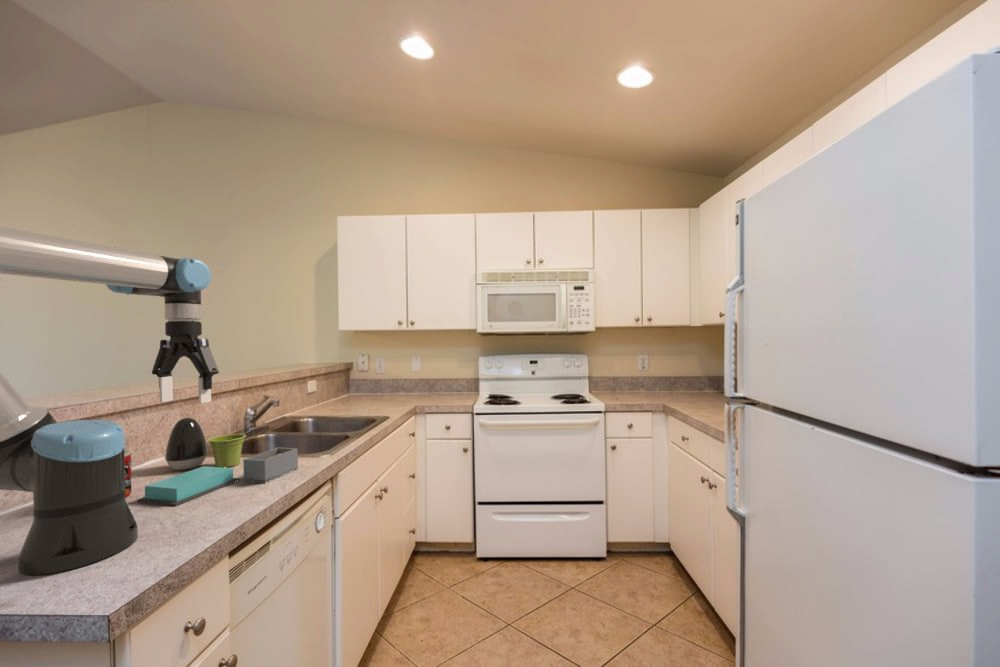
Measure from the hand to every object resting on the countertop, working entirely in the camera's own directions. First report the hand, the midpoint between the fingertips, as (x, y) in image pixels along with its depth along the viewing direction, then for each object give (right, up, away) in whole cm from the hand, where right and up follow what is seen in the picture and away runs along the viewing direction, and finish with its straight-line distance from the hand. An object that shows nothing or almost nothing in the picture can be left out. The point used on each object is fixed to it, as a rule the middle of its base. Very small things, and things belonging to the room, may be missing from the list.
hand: (185, 402), depth 106 cm
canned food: (-14, -23, -6) cm, 27 cm away
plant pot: (-1, -23, +19) cm, 30 cm away
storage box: (+18, -22, +9) cm, 30 cm away
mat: (+3, -22, -2) cm, 23 cm away
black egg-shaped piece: (-13, -23, +17) cm, 32 cm away
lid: (+3, -22, -2) cm, 22 cm away
